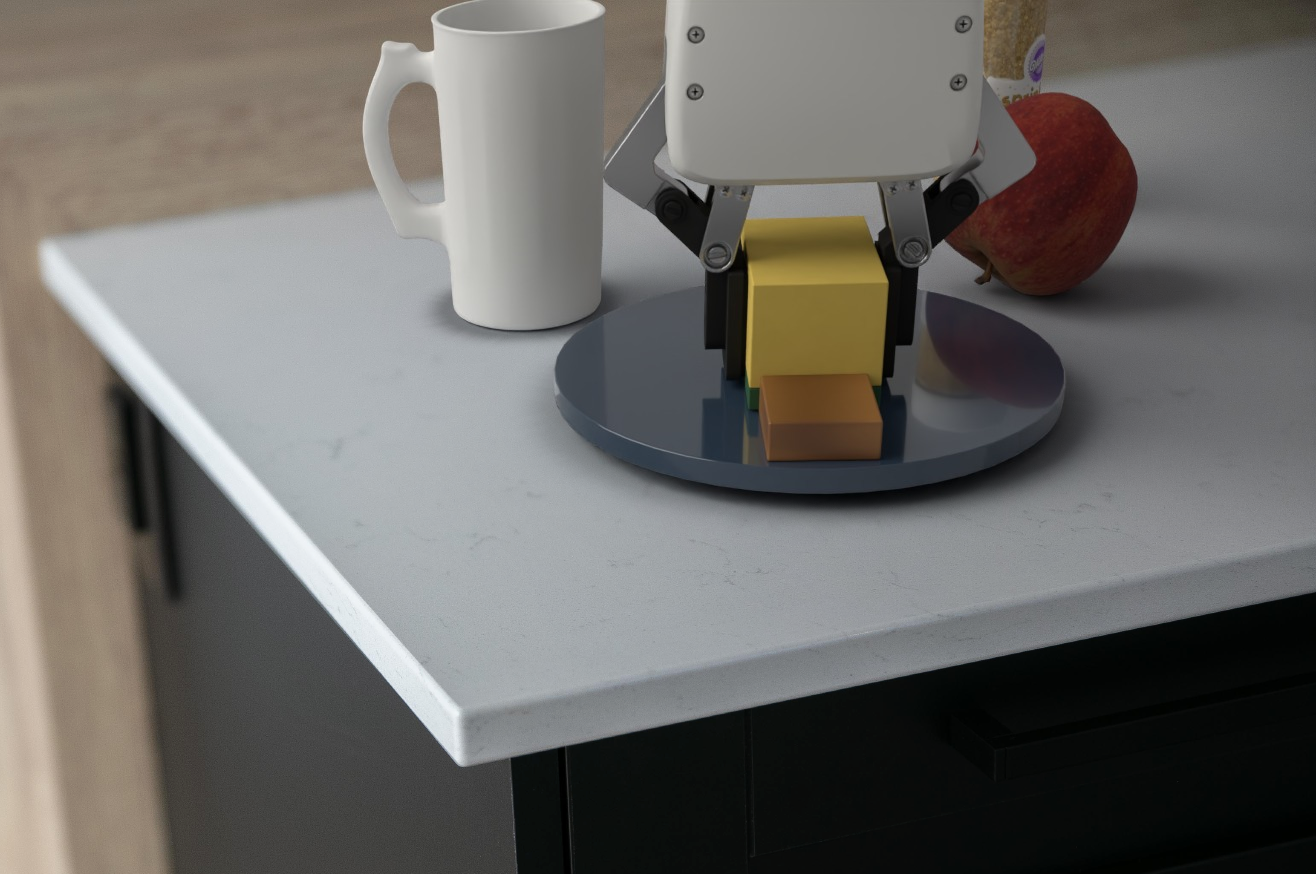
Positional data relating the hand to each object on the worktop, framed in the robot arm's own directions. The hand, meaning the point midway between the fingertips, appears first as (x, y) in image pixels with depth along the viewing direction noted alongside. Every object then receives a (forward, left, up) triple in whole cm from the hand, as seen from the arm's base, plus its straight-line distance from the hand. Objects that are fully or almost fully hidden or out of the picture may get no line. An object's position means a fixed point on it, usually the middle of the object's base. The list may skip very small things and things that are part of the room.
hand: (805, 360), depth 66 cm
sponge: (0, 0, 0) cm, 0 cm away
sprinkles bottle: (-10, -23, -2) cm, 25 cm away
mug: (+12, -12, -2) cm, 17 cm away
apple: (-10, -12, -2) cm, 16 cm away
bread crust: (0, +5, 0) cm, 6 cm away
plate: (0, -1, -2) cm, 2 cm away
